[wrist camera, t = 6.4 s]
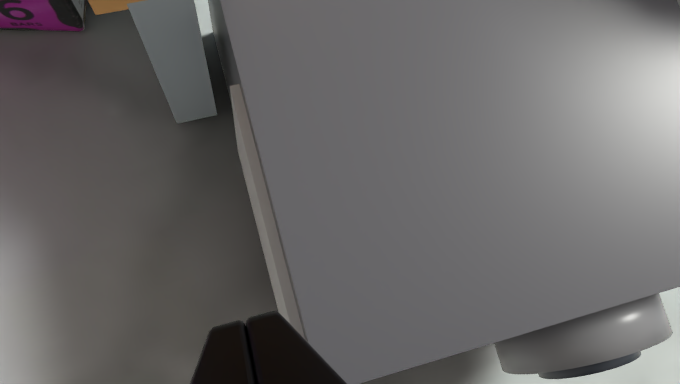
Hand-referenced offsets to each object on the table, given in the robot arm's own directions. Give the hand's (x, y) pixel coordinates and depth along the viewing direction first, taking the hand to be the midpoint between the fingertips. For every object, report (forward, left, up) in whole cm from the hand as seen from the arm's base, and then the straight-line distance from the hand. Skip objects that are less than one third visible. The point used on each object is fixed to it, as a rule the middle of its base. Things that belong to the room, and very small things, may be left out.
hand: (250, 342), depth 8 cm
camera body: (+4, -6, -10) cm, 13 cm away
